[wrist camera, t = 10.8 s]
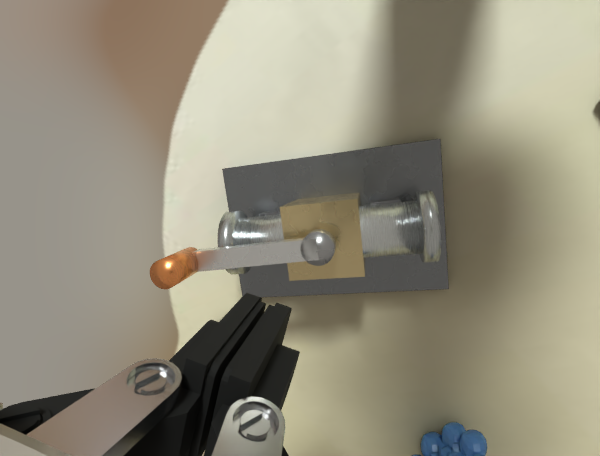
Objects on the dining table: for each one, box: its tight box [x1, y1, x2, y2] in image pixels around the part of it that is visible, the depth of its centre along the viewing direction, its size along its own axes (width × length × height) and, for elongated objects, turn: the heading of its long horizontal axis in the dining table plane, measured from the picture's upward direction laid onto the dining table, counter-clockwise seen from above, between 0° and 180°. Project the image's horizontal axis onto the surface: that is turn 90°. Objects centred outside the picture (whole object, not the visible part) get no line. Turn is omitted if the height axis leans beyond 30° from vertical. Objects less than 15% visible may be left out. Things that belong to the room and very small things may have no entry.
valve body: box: [218, 139, 449, 297], centre depth 33 cm, size 16×24×10 cm, turn 97°
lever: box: [150, 229, 336, 289], centre depth 27 cm, size 15×3×5 cm, turn 99°
